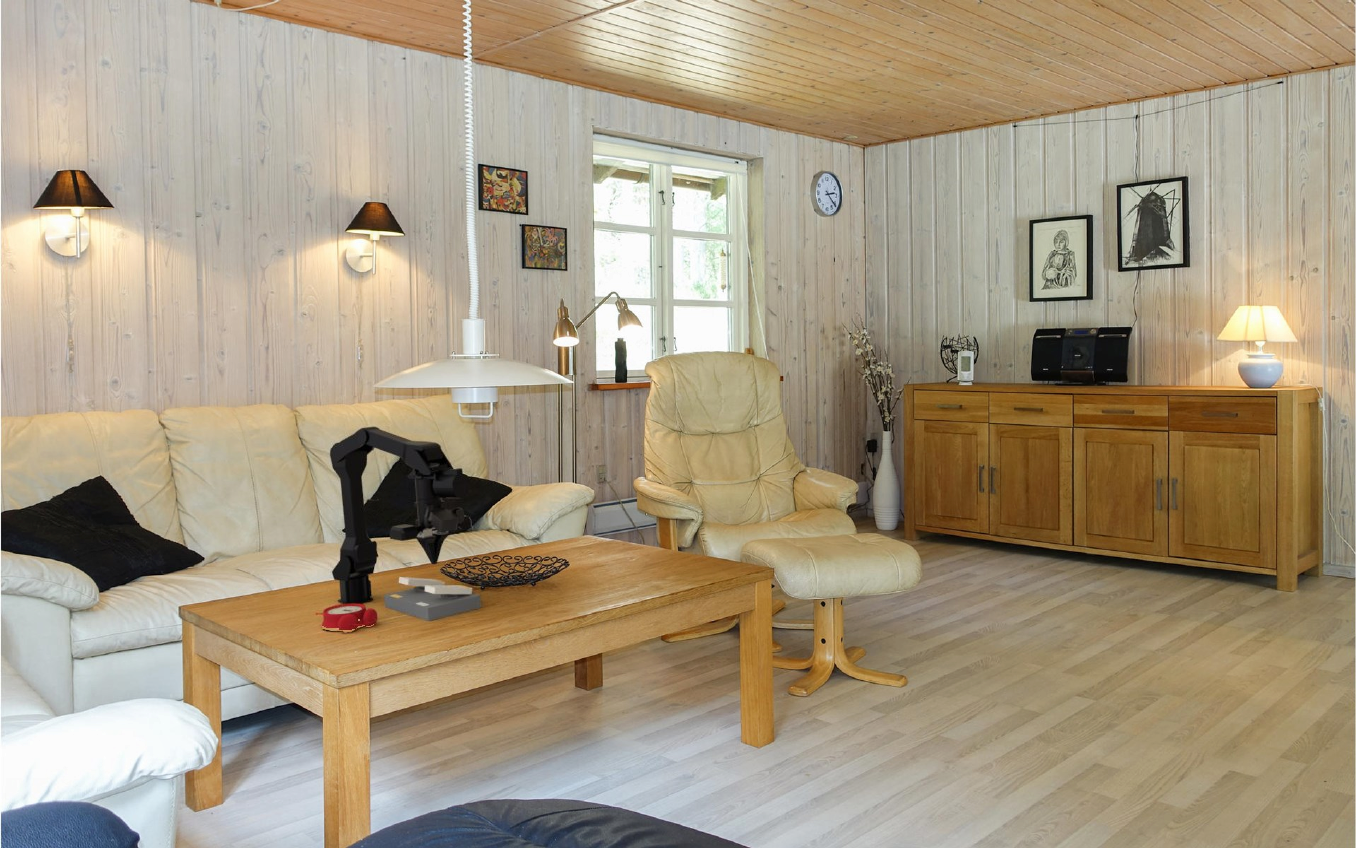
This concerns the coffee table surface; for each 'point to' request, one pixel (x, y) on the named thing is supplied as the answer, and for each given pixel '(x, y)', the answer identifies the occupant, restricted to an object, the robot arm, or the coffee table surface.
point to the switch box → (431, 603)
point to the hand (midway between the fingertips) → (434, 564)
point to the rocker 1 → (420, 581)
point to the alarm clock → (348, 616)
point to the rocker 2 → (448, 589)
